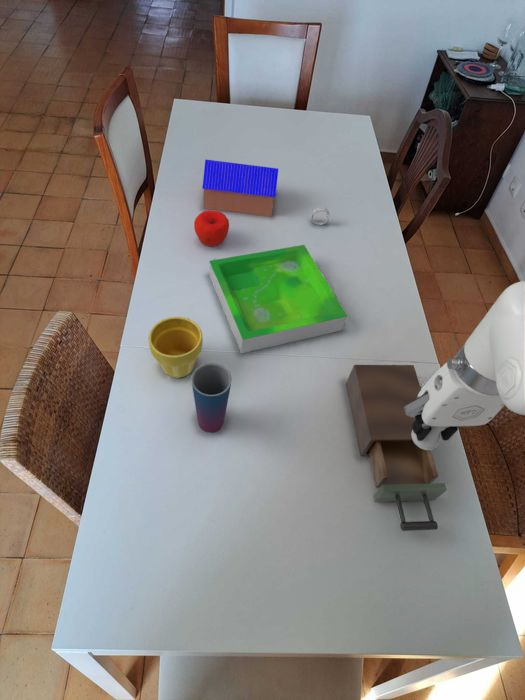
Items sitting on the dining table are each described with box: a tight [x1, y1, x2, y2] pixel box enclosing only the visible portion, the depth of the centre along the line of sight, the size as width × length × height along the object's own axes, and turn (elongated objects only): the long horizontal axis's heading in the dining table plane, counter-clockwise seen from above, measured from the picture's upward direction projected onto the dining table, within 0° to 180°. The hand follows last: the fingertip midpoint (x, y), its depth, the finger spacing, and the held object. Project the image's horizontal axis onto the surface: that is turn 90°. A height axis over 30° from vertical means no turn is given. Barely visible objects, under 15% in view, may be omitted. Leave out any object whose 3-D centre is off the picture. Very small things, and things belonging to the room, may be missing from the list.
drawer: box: [368, 441, 448, 532], centre depth 83 cm, size 21×11×5 cm, turn 4°
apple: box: [193, 209, 230, 247], centre depth 118 cm, size 9×9×8 cm
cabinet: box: [345, 364, 422, 457], centre depth 91 cm, size 17×13×7 cm
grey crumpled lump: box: [310, 207, 330, 226], centre depth 128 cm, size 3×5×5 cm, turn 90°
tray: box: [209, 244, 348, 354], centre depth 108 cm, size 25×25×5 cm
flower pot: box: [148, 316, 203, 379], centre depth 92 cm, size 10×10×10 cm
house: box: [202, 158, 279, 218], centre depth 128 cm, size 12×20×12 cm, turn 87°
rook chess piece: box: [411, 426, 450, 451], centre depth 71 cm, size 4×4×8 cm
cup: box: [191, 362, 233, 434], centre depth 83 cm, size 7×7×15 cm
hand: (430, 431), depth 72 cm, fingers closed on rook chess piece, 3 cm apart
